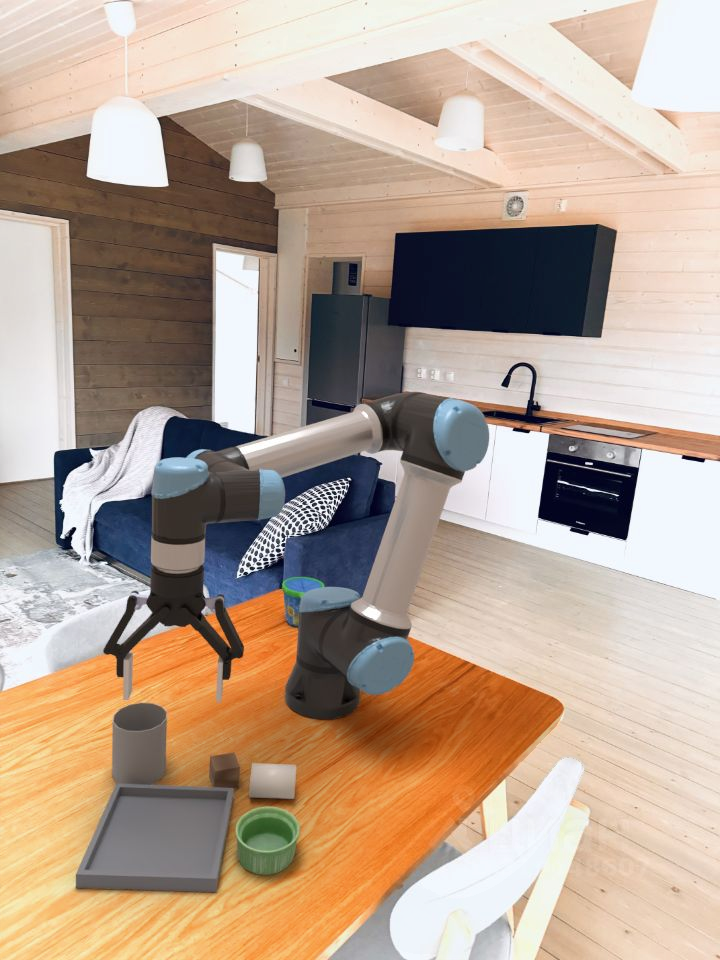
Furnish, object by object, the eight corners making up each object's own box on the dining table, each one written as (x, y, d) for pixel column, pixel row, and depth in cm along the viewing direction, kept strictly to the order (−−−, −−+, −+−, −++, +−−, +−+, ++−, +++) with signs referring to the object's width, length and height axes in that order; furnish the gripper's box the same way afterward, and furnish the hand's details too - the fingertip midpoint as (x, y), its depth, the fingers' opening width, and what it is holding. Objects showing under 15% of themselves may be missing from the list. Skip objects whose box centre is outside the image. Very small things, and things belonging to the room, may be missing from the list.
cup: (149, 793, 108) (150, 736, 106) (101, 782, 109) (102, 725, 107) (174, 761, 116) (176, 707, 114) (129, 751, 118) (130, 698, 115)
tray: (233, 799, 108) (233, 788, 108) (216, 892, 91) (216, 878, 90) (116, 795, 107) (116, 783, 106) (75, 888, 89) (75, 874, 89)
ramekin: (243, 827, 103) (244, 802, 102) (302, 836, 102) (305, 811, 101) (225, 873, 94) (227, 846, 93) (290, 884, 93) (292, 856, 92)
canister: (293, 804, 110) (295, 774, 113) (294, 789, 106) (296, 758, 110) (249, 803, 109) (252, 772, 113) (249, 787, 106) (252, 757, 110)
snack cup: (322, 636, 167) (325, 597, 165) (278, 635, 166) (281, 595, 163) (320, 610, 182) (323, 574, 180) (280, 608, 181) (283, 572, 179)
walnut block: (233, 773, 114) (234, 752, 114) (238, 788, 111) (240, 766, 110) (209, 777, 113) (210, 756, 112) (213, 793, 109) (214, 771, 108)
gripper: (265, 559, 105) (257, 685, 110) (95, 552, 102) (95, 681, 107) (263, 577, 98) (255, 711, 103) (81, 569, 95) (81, 708, 100)
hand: (173, 696), depth 105 cm, fingers open, 13 cm apart
